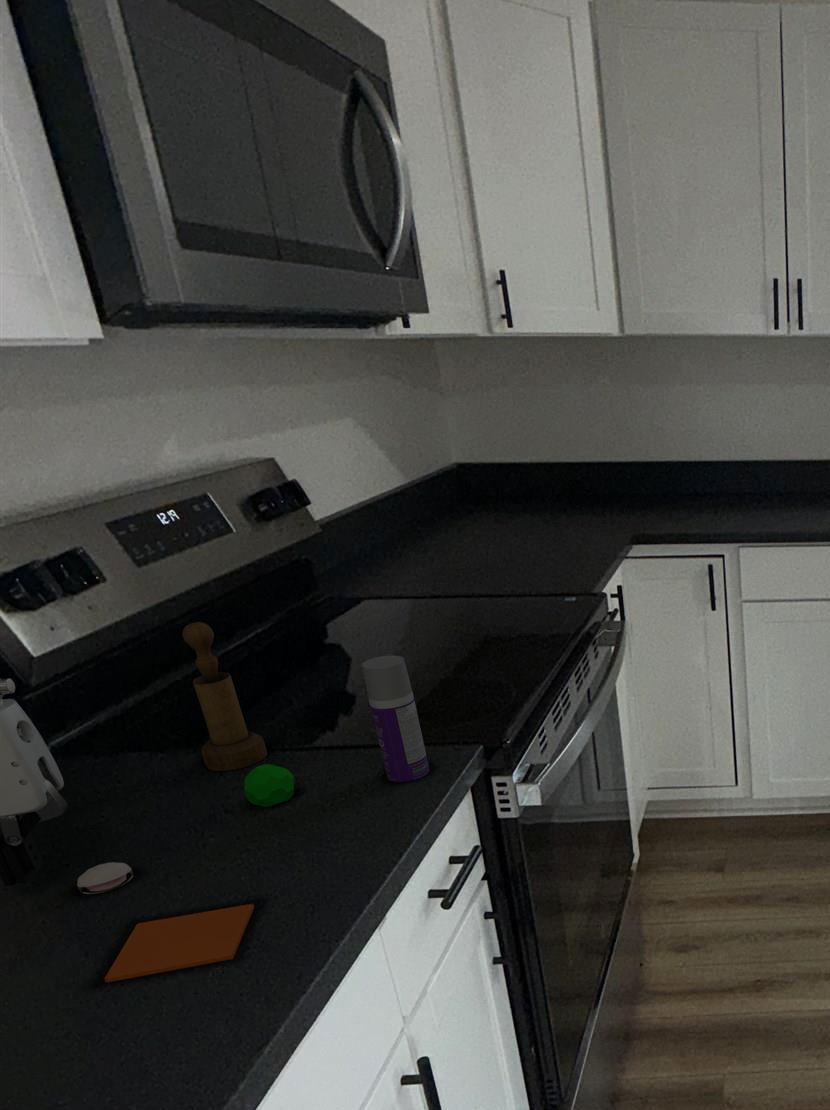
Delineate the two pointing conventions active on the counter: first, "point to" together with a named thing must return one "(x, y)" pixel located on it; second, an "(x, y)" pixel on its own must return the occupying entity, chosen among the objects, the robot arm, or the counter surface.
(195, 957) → the orange cloth
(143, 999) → the counter surface
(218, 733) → the mortar and pestle
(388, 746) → the container
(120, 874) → the macaroon
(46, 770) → the robot arm
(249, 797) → the polyhedron
